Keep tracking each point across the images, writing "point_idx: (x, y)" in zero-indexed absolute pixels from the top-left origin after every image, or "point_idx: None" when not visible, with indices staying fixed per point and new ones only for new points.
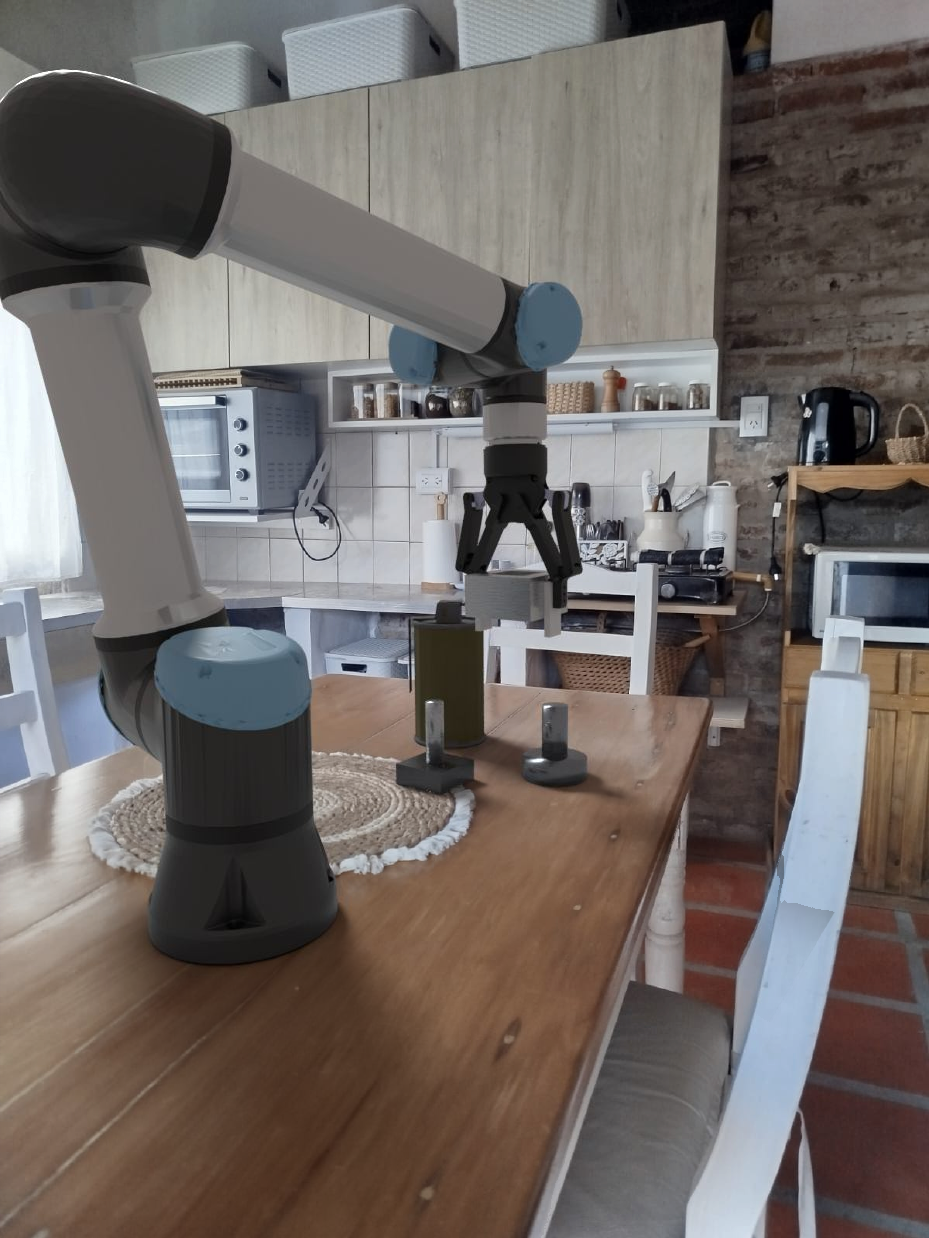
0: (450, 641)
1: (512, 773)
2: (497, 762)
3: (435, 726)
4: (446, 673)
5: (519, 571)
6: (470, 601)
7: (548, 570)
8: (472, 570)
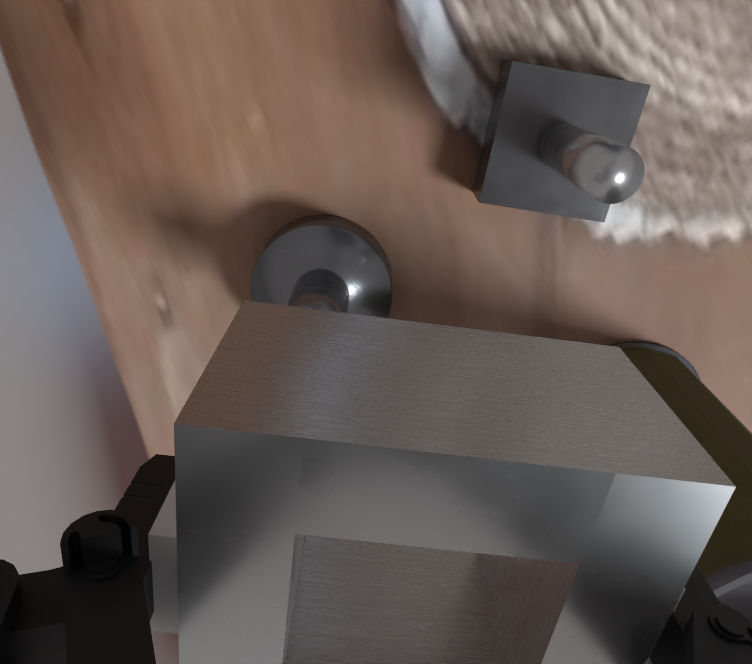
0: (716, 529)
1: (410, 259)
2: (466, 309)
3: (580, 140)
4: None
5: None
6: (617, 384)
7: (135, 603)
8: (727, 642)
